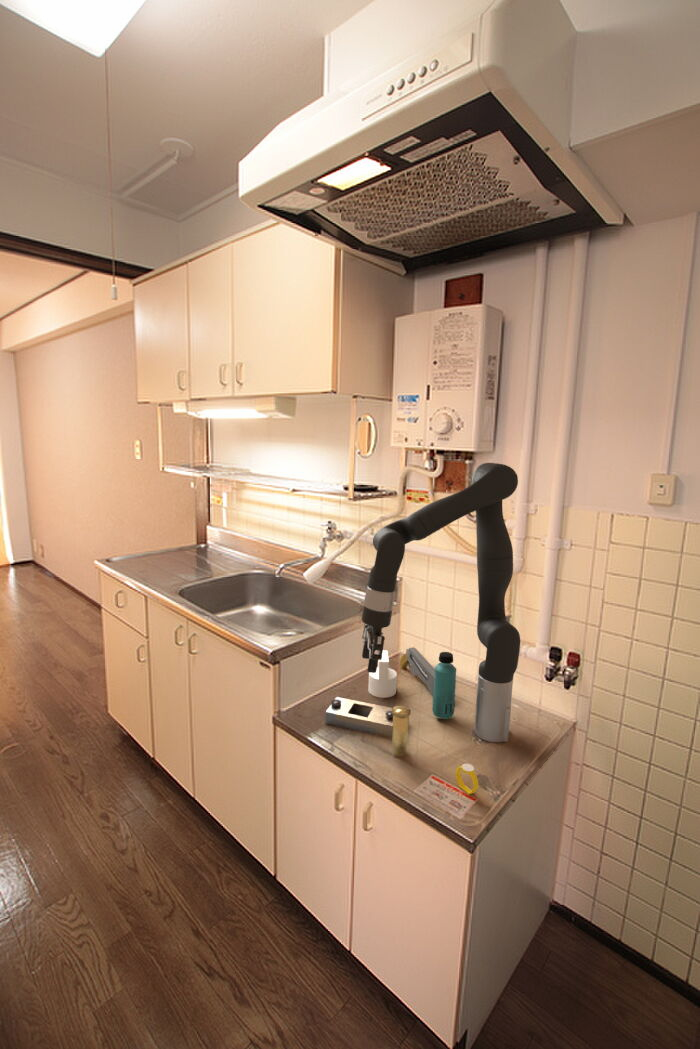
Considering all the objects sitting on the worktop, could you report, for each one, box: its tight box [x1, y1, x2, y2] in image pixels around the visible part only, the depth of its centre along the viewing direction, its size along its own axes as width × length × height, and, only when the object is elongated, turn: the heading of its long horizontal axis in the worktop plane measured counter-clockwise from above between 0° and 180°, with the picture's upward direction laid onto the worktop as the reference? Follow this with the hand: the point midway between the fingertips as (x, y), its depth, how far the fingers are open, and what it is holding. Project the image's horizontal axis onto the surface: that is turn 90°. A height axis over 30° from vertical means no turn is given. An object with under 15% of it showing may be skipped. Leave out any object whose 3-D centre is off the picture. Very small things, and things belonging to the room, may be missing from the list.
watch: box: [455, 763, 479, 795], centre depth 117 cm, size 6×3×6 cm, turn 31°
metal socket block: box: [324, 696, 393, 739], centre depth 143 cm, size 21×9×5 cm, turn 71°
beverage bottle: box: [431, 651, 457, 720], centre depth 146 cm, size 6×7×20 cm
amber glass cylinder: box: [391, 705, 412, 758], centre depth 129 cm, size 5×5×12 cm
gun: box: [399, 646, 435, 697], centre depth 168 cm, size 3×25×15 cm, turn 25°
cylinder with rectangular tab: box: [367, 649, 398, 698], centre depth 162 cm, size 9×9×12 cm
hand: (368, 664), depth 131 cm, fingers open, 8 cm apart
